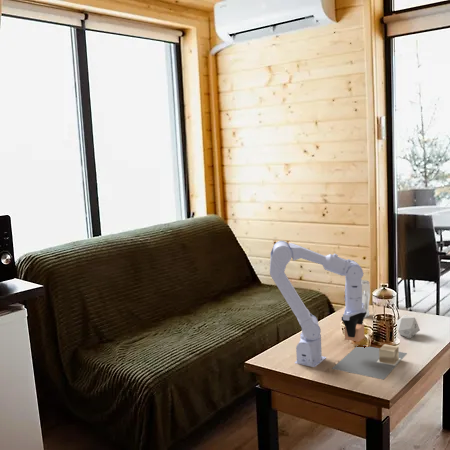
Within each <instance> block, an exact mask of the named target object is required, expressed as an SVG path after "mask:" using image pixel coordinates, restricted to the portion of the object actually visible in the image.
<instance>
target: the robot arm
mask: <svg viewBox="0 0 450 450" xmlns="http://www.w3.org/2000/svg"><path fill="white" fill-rule="evenodd" d="M269 259H270V260H269V275H270V277H271V279H272V281H273V282H274V284H275V285H276V287H277V288H278V290H279V291H280V293H281V295H282V296H283V298H284V299H285V302H286V303H287V305H288V306H289V307H290V309H291V311H292V313H293V314H294V315H295V317H296V319H297V321H298V323H299V326H300V327H301V333H300V336H299V337H300V338H299V339H300V340H299V342H298V343H297V345H296V347H295V350H296V361H294V364H295V365H296V364H297V365H303V366H306V367H312V368H317V366H318V365H319V364H321V363H322V362H323V361H325V360H326V359H327V356H323V355H322V333H321V332H322V331H321V326H320V325H319V320H318V318H317V317H316V316H315V315H313V314H312V313H311V312H310V310H309V309H308V307H306V305H305V304H304V302H303V300H302V298H301V297H300V295H299V294H298V292H297V290H296V289H295V287H294V285H293V284H292V282H291V281H290V280H289V277H288V275H287V274H286V273H285V270H286V267H287V265H288V264H289V262H290V261H291V260H292V261H293V262H294V261H297V260H299V259H302V260H306V261H308V262H312V263H315V264H317V265H318V264H319V265H322V267H323V270H325V271H328V272H330V273H333V274H335V275H339V276H344V277H345V278H344V279H345V283H344V293H345V294H344V295H345V296H344V299H345V300H344V302H345V305H344V306H345V308H344V312H343V314H342V316H341V321H342V323H343V325H344V328H345V327H346V330H347V334H348V337H355V331H356V325H357V324H363V323H364V320H365V318H364V317H365V315H366V310H365V309H364V308H365V307H364V303H362V283H361V281H362V280H363V279H362V278H363V276H364V271H363V268H362V267H361V265H360V264H359V263H358V262H356V260H351V259H349V258H347V259H345V258H342V257H340V256H339V255H338V253H333V254H331V253H329V254H327V255H324V254H321V253H319V252H316V251H314V250H311V249H308V248H306V247H303V246H301V245H298V244H296V243H292V242H287V241H285V240H279V241H277V242H275V243H274V244H273V246H272V247H271V250H270V258H269ZM363 325H364V324H363Z"/></svg>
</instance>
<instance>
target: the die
mask: <svg viewBox="0 0 450 450" xmlns="http://www.w3.org/2000/svg"><path fill="white" fill-rule="evenodd" d="M395 322H396V323H397V326H396V325H395V326H396V329H397V331H398V334H399V335H400V336H402V337H404V338H408V339H411V338H412V337H414V336H415V335H416V334H417V333H418V332H419V331H421V329H420V327H419V323H418V321H417V319H416V317H415V316H412V315H408V314H403V315H402V316H401V317H400V318H398V319H396V321H395Z"/></svg>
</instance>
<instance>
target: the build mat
mask: <svg viewBox="0 0 450 450" xmlns="http://www.w3.org/2000/svg"><path fill="white" fill-rule="evenodd" d="M380 348H381V347H373V346H369V347H365V348H364V347H357V346H355V347H354V348H353V349H352V350H351V351H350V352H349V353H348V354H346V356H344V357H343V358H342V359H341V360H340V361H338V362H337V363H336V364H335V365H334V366H333V367H332V368H331V369H332V370H336V371H340V372H346V373H350V374H354V375H360V376H364V377H365V376H366V377H370V378H375V379H379V380H383V381H384V380H385V379H386V378H387V377H388V375H390V373H392V371H393V370H394V369H395V368H396V366H397V365H398V364H400V362H401V361H402V360H403V358H404V357H405V356H406V355H407V354H408V353H407V352H403V351H402V352H401V351H399V359H398V360H397V361H396V363H395V364H389V363H384V362H379V349H380Z"/></svg>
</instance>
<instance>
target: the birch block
mask: <svg viewBox="0 0 450 450" xmlns="http://www.w3.org/2000/svg"><path fill="white" fill-rule="evenodd" d="M379 348H380V349H379V362H384V363H389V364H395V363H396V361H397V360H398V359H399V352H400V351H399V349H400V348H399V346H397V345H390V344H383V345H381V347H379Z"/></svg>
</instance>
